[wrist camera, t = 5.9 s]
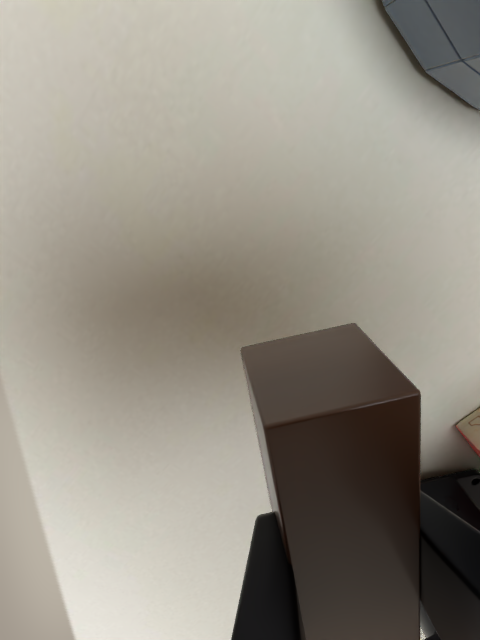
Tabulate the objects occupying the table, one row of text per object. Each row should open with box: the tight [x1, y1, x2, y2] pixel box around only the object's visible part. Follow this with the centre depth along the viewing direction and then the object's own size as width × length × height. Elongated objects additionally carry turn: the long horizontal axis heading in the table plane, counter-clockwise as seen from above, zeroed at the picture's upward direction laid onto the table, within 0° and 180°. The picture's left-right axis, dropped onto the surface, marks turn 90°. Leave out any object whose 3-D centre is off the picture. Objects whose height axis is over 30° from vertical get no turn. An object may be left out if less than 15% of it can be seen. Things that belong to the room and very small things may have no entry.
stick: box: [240, 323, 421, 640], centre depth 8 cm, size 7×2×2 cm, turn 10°
